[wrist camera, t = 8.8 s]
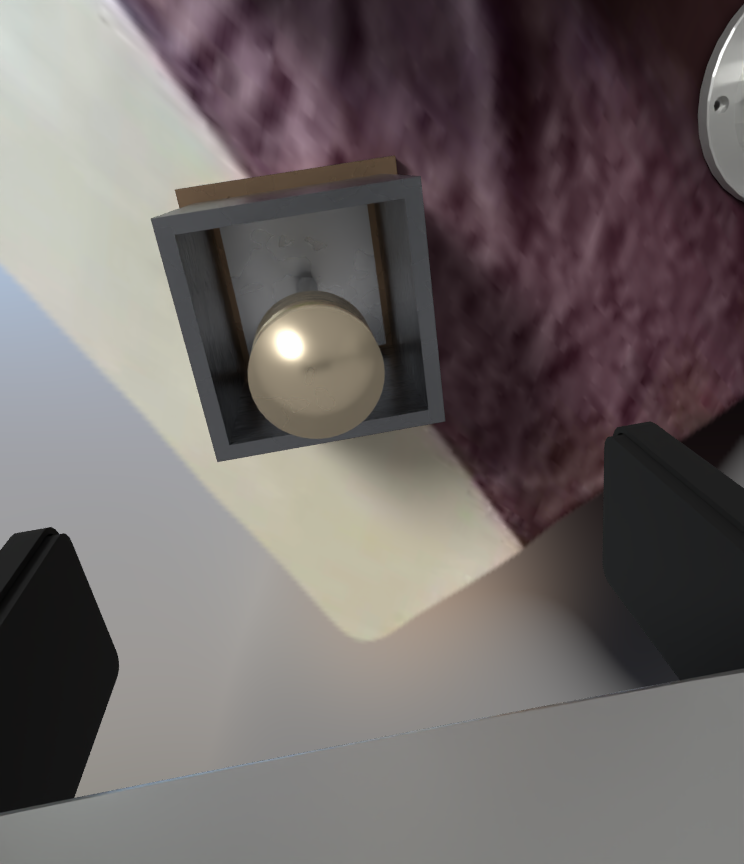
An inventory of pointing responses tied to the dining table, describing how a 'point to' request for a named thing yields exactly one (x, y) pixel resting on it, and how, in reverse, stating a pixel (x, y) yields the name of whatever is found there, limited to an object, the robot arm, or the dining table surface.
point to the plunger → (310, 318)
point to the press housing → (219, 316)
